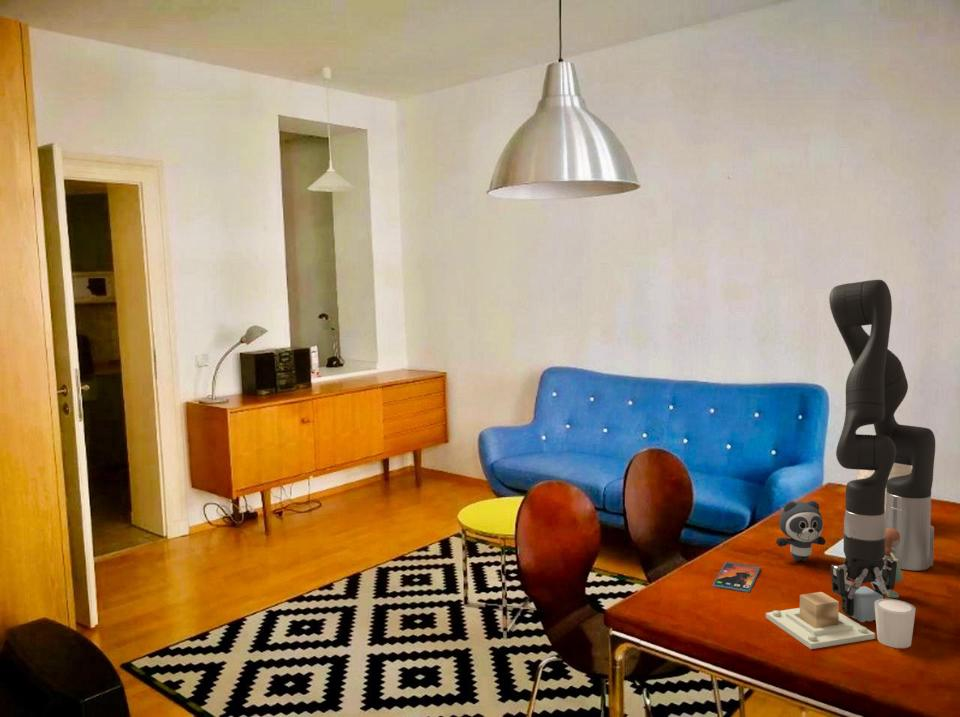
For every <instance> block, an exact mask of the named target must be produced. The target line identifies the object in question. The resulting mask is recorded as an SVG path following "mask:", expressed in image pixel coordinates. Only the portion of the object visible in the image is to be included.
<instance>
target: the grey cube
mask: <svg viewBox="0 0 960 717" xmlns="http://www.w3.org/2000/svg"><path fill="white" fill-rule="evenodd" d="M849 589H850V587H849V588H848V591H849ZM874 590H875V589H874ZM874 590H873V589H871V588H869V586H865V585H863V586H860V588H859V589H857V590H856V592H855V594H854V596H853V599H854V615H853V616H852V617H851V618H853V619H854V620H856V619H857V621H858V622H860V623H861V622H862V623H866V622H865V621H868V622H873V620H875V621H876V616H875V605H874V604H875V601H877V600H879V599H883V595H881V594H879V593H877V592H875V591H874Z"/></svg>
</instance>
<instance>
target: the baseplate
mask: <svg viewBox="0 0 960 717" xmlns="http://www.w3.org/2000/svg"><path fill="white" fill-rule="evenodd" d="M765 618H766V619H767V620H768V621H770V622H771V623H773V624H774V625H775V626H777V627H778V628H780V629H781V630H783V631H784V632H785V633H787V634H789V635H790V636H791V637H793V638H794V639H796V640H797V641H798V642H800V643H801V644H802V645H804V646H806V647H807V648H808V649H809V650H814V649H815V650H816V649H820V648H827V647H832V646H833V647H834V646H838V645H844V644H851V643H857V642H863V641H869V640H875V639H876V634H875V632H873V631H871V630H870V629H868V628H867V627H866V626H863V625H861V624H860V623H858V622H856V621H855V620H853V619H851V618H850V617H849V616H846V614H843V613H841V612H840V611H839V625H835V626H828V627H822V628H816V629H815V628H813V627H812V626H810V625H809V624H807V623H806V622H804V621H803V620H801V619H800V607H797V608H790V609H784V610H775V609H774V610H772V611H770V612H765Z"/></svg>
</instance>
